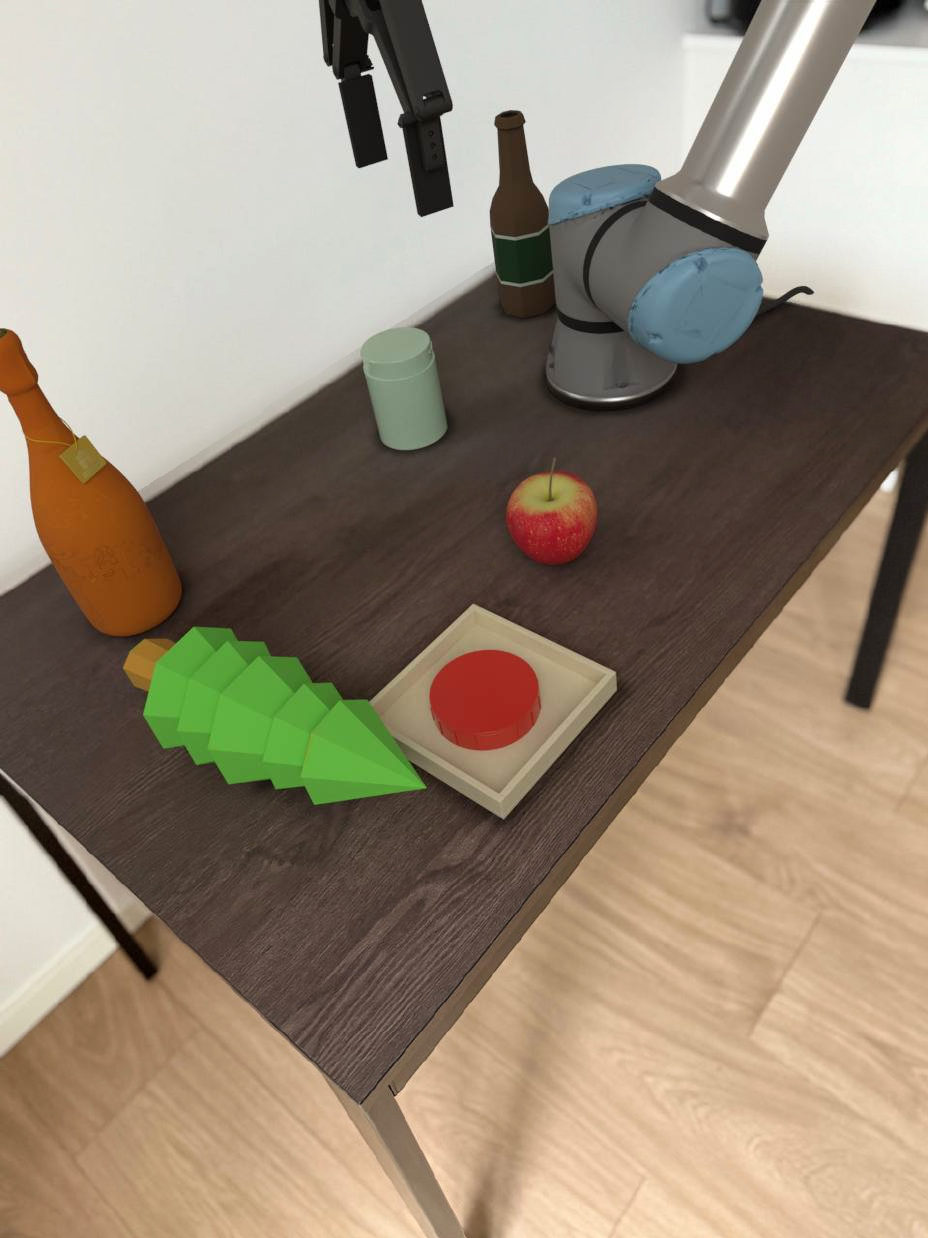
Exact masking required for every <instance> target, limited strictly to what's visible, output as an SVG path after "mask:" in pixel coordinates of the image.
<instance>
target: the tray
mask: <svg viewBox="0 0 928 1238" xmlns="http://www.w3.org/2000/svg"><path fill="white" fill-rule="evenodd" d="M479 650H500V651H505V652H509V653H512V654H514V655H516V656H518V657H520V658H522V659H523V660H525V661H526V662H527V663H528V664H529V665H530V666H531V667H532V669H533V670H534V672H535V674H536V676H537V679H538V683H539V690H540V700H541V709H540V714H539V717H538V719H537V721H536V723H535V725H534V726H533V727H532V729H531V730H530V731H529V732H528V733H527V734H526V735H525V736H523V737H522V738H521V739H520V740H518V741H516V742H514V743H512V744H510V745H508V746H505V747H503V748H499V749H494V750H485V751H477V750H470V749H466V748H462V747H459V746H457V745H455V744H453V743H452V742H450V741H449V740H447V739H446V738H445V737H444V736H443V735H441V733H440V731H439V730H438V728H437V726H436V724H435V721H434V720H433V717H432V713H431V709H430V707H431V705H430V699H429V694H430V688H431V684H432V682H433V680H434V678H435V677H436V675H437V674H438V672H439V671H440V670H441V669H442V668H443V667H444V666H445V665H446V664H448V663H449V662H450V661H452V660H454V659H455V658H457V657H459V656H461V655H464V654H467V653H470V652H474V651H479ZM617 681H618V680H617V672H616V671H615V670H613V669H610V668H609V667H607V666H604V665H602V664H600V663H598V662H596V661H594V660H592V659H590V658H588V657H585V656H584V655H581V654H579V653H577V652H575V651H573V650H571V649H569V648H567V647H565V646H563V645H561V644H558V643H557V642H555V641H552V640H550V639H549V638H546V637H544V636H542V635H540V634H538V633H536V632H533V631H531V630H529V629H527V628H525V627H523V626H521V625H519V624H517V623H515V622H513V621H510V620H508V619H506V618H504V617H502V616H500V615H498V614H496V613H494V612H492V611H490V610H487V609H486V608H484V607H481V606H479V605H477V604H475V603H472V604H471V605H470V606H469V607H468V608H467V609H466V610H465V611H464V612H463V613H462V614H461V615H460V616H458V618H456V619H455V620H453V622H452V623H451V624H450V625H449V626H448V627H447V628H446V629H445V630H443V631H442V633H440V635H438V636H437V637H436V638H435V639H434V640H433V641H432V642H431V643H430V644H429V645H427V647H426V648H425V649H424V650H423V651H421V652H420V653H419V654H418V655H417V656H416V657H415V658H414V659H413V660H412V661H411V662H409V663H408V664H407V665H406V666H405V668H404V669H402V670H401V671H400V672H399V673H398V674H396V676H395V677H394V678H393V679H392V680H391V681H390V682H388V683H387V684H386V685H385V686H384V687H383V688H382V689H381V690H380V691H379V692H378V693H376V695H375V696H374V697H373V698H371V699H370V700H369V703H370V704H371V706H372V707H373V709H374V710H375V712H376V713H377V715H378V716H379V718H380V719H381V721H382V722H383V724H384V725H385V727H386V728H387V730H388V731H389V733H390V734H391V736H392V737H393V739H394V740H395V742H396V743H397V744H398V746H399V747H400V749H401V750H402V752H403V753H404V755H405V756H406V758H407V759H408V761H409V762H410V763H411V764H414V765H415V766H417V767H419V768H420V769H422V770H423V771H425V772H427V773H428V774H430V775H431V776H433V777H435V778H436V779H437V780H440V781H441V782H443V783H444V784H446V785H448V786H449V787H451V788H452V789H454V790H456V791H457V792H458V793H460V794H462V795H464V796H465V797H467V798H469V800H472V801H473V802H475V803H476V804H478V805H480V806H481V807H483V808H484V809H486V810H487V811H489V812H491V813H492V814H494V815H496V816H497V817H499V818H501V819H502V820H505V819H506V818H507V816H508V815H510V814H511V812H512V811H513V810H514V809H515V807H516V806H517V805H518V804H519V803H520V802H521V800H522V799H524V797H525V796H526V795H527V794H528V793H529V791H530V790H531V789H532V788H533V787H534V786H535V785H536V783H537V782H538V781H539V780H540V779H541V778H542V776H543V775H545V773H546V772H547V771H548V770H549V769H550V768H551V766H552V765H553V764H554V763H555V762H556V761H557V760H558V759H559V757H560V756H561V755H562V754H563V752H565V750H566V749H567V748H568V747H569V746H570V745H571V744H572V742H573V741H574V740H575V739H576V738H577V737H578V736H579V734H580V733H581V732H582V731H583V730H584V729H585V728H586V726H587V725H588V724H589V723H590V722H591V721H592V719H593V718H594V717H595V716H596V715H597V714H598V713H599V711H600V710H601V709H602V708H603V707H604V706H605V704H607V703H608V701H609V700H610V699H611V698H612V697H613V696H614V695H615V693H616V692H617V690H618V685H617Z"/></svg>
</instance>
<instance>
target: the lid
mask: <svg viewBox="0 0 928 1238" xmlns="http://www.w3.org/2000/svg"><path fill="white" fill-rule="evenodd" d="M429 699H430V705H431V707H430V709H431V713H432V717H433V720H434V721H435V724H436V726H437V728H438V730H439V731H440V733H441V735H443V736H444V737H445V738H446V739H447V740H449V741H450V742H452V743H453V744H455V745H457V746H459V747H462V748H466V749H470V750H477V751H485V750H494V749H499V748H503V747H505V746H508V745H510V744H512V743H514V742H516V741H518V740H520V739H521V738H522V737H523V736H525V735H526V734H527V733H528V732H529V731H530V730H531V729H532V727H533V726H534V725H535V723H536V721H537V719H538V717H539V714H540V709H541V700H540V690H539V683H538V679H537V676H536V674H535V672H534V670H533V669H532V667H531V666H530V665H529V664H528V663H527V662H526V661H525V660H523V659H522V658H520V657H518V656H516V655H514V654H512V653H509V652H505V651H500V650H479V651H474V652H470V653H467V654H464V655H461V656H459V657H457V658H455V659H454V660H452V661H450V662H449V663H448V664H446V665H445V666H444V667H443V668H442V669H441V670H440V671H439V672H438V674H437V675H436V677H435V678H434V680H433V682H432V684H431V688H430V694H429Z"/></svg>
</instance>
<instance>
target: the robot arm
mask: <svg viewBox="0 0 928 1238" xmlns="http://www.w3.org/2000/svg"><path fill="white" fill-rule="evenodd" d="M876 2H877V0H760V2H759V5H758V7H757V8H756V11H755V13H754V15H753V17H752V19H751V21H750V23H749V26H748V28H747V30H746V31H745V34H744V36H743V38H742V40H741V42H740V45H739V47H738V49H737V50H736V53H735V55H734V57H733V59H732V61H731V63H730V66H729V67H728V70H727V72H726V74H725V75H724V78H723V80H722V82H721V84H720V86H719V88H718V90H717V93H716V95H715V97H714V99H713V101H712V103H711V105H710V107H709V109H708V111H707V113H706V115H705V118H704V120H703V121H702V124H701V126H700V128H699V130H698V132H697V134H696V136H695V139H694V140H693V143H692V145H691V147H690V149H689V151H688V153H687V156H686V157H685V160H684V161H683V163H682V166H681V168H680V169H679V171H677V172H676V173H675V174H673V175H669V176H668V177H666V178H663V179H662V175H661V173H660V171H659V170H658V169H657V168H655V167H653V166H651V165H646V164H641V163H640V164H639V163H622V164H614V165H606V166H600V167H596V168H592V169H589V170H584V171H582V172H579V173H576V174H573V175H571V176H569V177H567V178H565V179H563V180H562V181H560V182H559V183H557V184H556V185H555V186H554V187H553V189H552V190H551V192H550V194H549V197H548V209H549V219H548V225H549V229H550V240H551V251H552V262H553V274H554V285H555V296H556V303H555V305H556V318H557V319H556V324H555V328H554V332H553V335H552V337H551V340H550V343H549V346H548V350H547V353H546V355H547V359H546V364H545V375H546V376H545V377H546V384H547V387H548V389H549V391H550V393H551V394H552V395H553V396H554V397H556V398H557V399H558V400H559V401H561V402H562V403H565V404H567V405H570V406H573V407H576V408H580V409H586V410H592V411H617V410H623V409H630V408H634V407H637V406H641V405H643V404H644V405H645V404H646V403H649V402H651V401H653V400H655V399H657V398H658V397H660V396H662V395H663V394H664V393H666V392H667V391H668V390H669V389H671V387H672V386H673V385H674V383H675V381H676V379H677V377H678V365H679V364H680V365H688V364H689V365H690V364H695V363H700V362H703V361H706V360H707V359H708V358H710V357H711V356H713V355H719V354H720V353H722V352H724V351H725V350H727V349H728V348H730V347H731V346H732V345H734V343H735V342H737V341H738V340H739V339H740V338H741V337H742V336H743V335H744V333H745V332H746V331H747V330H748V328H749V327H750V325H751V324H752V322H753V321H754V319H755V318H758V317H759V316H761V315H763V314H766V313H767V312H769V311H771V310H774V309H775V308H778V307H779V306H781V305H783V304H784V303H786V302H788V301H789V300H790V299H792V298H793V297H795V296H796V295H798V294H805V295H807V296H811V295H813V294H815V291H814V290H813V289H812V288H811V287H809V286H806V285H799V286H796V287H793V288H791V289H790V290H788V291H787V292H786V293H784V294H783V295H781V296H779V297H778V298H776V299H775V300H773V301H770V302H769V303H766V304H764V305H762V306H761V304H762V301H763V296H764V288H763V287H762V284H763V283H764V278H763V273H762V271H761V269H760V267H759V264H758V263H757V261H758V259H759V257H760V255H761V253H762V252H763V249H764V248H765V246H766V244H767V242H768V240H769V238H770V234H769V229H768V225H767V222H766V217H765V214H766V210H767V207H768V205H769V203H770V202H771V200H772V198H773V195H774V194H775V192H776V190H777V188H778V186H779V185H780V184H781V181H782V179H783V177H784V175H785V173H786V171H787V169H788V168H789V166H790V164H791V162H792V160H793V158H794V157H795V154H796V153H797V152H798V151H797V150H798V148H799V147H800V145H801V144H802V141H803V139H804V138H805V135H806V134H807V132H808V130H809V128H810V126H811V124H812V123H813V121H814V118H815V117H816V115H817V114H818V111H819V110H820V107H821V106H822V103H823V102H824V100H825V98H826V97H827V94H828V93H829V91H830V88H831V87H832V85H833V83H834V81H835V79H836V77H837V76H838V73H839V72H840V70H841V68H842V66H843V64H844V62H845V60H846V59H847V57H848V54H849V53H850V51H851V49H852V47H853V45H854V44H855V42H856V40H857V38H858V36H859V34H860V32H861V30H862V28H863V26H864V25H865V23H866V21H867V19H868V17H869V16H870V13H871V11H872V10H873V8H874V6H875V4H876ZM318 9H319V10H318V11H319V21H320V32H321V33H320V34H321V43H322V54H323V56H322V58H323V62H324V63H325V65H326V66H327V68H328V67H331V69H332V74H333V76H334V78H335V79H336V80H337V81H339V82H337V85H338V90H339V94H340V99H341V104H342V107H343V112H344V118H345V122H346V126H347V131H348V132H347V133H348V136H349V139H350V140H349V141H350V145H351V149H352V154H353V158H354V164H355V167H356V168H358V169H363V168H366V167H369V166H371V165H375V164H378V163H381V162H384V161H388V160H389V157H388V151H387V147H386V142H385V136H384V131H383V126H382V125H383V124H382V121H381V114H380V110H379V106H378V100H377V95H376V89H375V83H374V78H373V75H372V74H370V73H367V74H363V73H366V72H369V71H373V70H375V66H373V65H374V64H373V62H372V60H371V58H370V56H369V54H368V50H369V48H368V47H369V39H370V38H369V37H370V35H371V36H372V37H373V39H374V42H375V45H376V46H377V49H378V52H379V54H380V56H381V60H382V61H383V64H384V66H385V69H386V71H387V74H388V76H389V80H390V82H391V84H392V86H393V89H394V92H395V95H396V97H397V99H398V102H399V104H400V106H401V109H402V112H403V113H400V114H399V117H398V120H397V122H396V124H397V126H398V127H399V128H400V129H402V134H403V135H402V136H403V140H404V145H405V152H406V157H407V164H408V169H409V175H410V179H411V185H412V191H413V197H414V201H415V202H414V203H415V208H416V213H417V215H418V216H419V217H420V218H423V217H426V216H429V215H433V214H436V213H439V212H442V211H444V210H447V209H450V208H454V207H455V205H454V200H453V199H454V198H453V193H452V191H453V190H452V186H451V178H450V172H449V166H448V159H447V153H446V145H445V139H444V134H443V133H444V132H443V126H442V120H441V117H442V116H443V115H445V114H447V113H451V112H452V111H453V108H454V104H453V99H452V97H451V93H450V89H449V87H448V82H447V79H446V76H445V73H444V69H443V66H442V63H441V60H440V57H439V53H438V50H437V45H436V43H435V39H434V36H433V32H432V30H431V29H432V28H431V26H430V24H429V20H428V16H427V13H426V10H425V7H424V3H423V0H318ZM362 74H363V75H362ZM424 97H425V98H424Z"/></svg>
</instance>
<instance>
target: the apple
mask: <svg viewBox="0 0 928 1238" xmlns="http://www.w3.org/2000/svg"><path fill="white" fill-rule="evenodd" d="M556 462H557V457H553V458H552V463H551V469H550V471H545V472H540V473H536V474H533V475H531V476H529V477H526V478H525V479H524V480H522V481H521V482H520V483H519V485H518V486H517V487H516V488H515V489H514V490H513V492H512V494H511V495H510V497H509V500H508V502H507V505H506V515H505V517H506V524H507V528H508V531H509V533H510V536H511V538H512V540H513V542H514V543H515V544H516V546H517V547H518V548H519V550H521V551H522V553H523V554H525V556H527V557H528V558H529V559H531V560H532V561H534V562H535V563H538V564H540V565H546V566H555V565H562V564H567V563H570V562H572V561H574V560H575V559H577V558H578V557H580V555H581V554H582V553H583V552H584V550H585V549H586V548H587V546H588V545H589V543H590V541H591V540H592V538H593V536H594V533H595V531H596V526H597V522H598V504H597V500H596V496H595V494H594V493H593V490H592V489H591V487H590V486H589V485H588V484H587V482H585V481H584V480H583V479H581V478H580V477H578V476H577V475H575V474H573V473H571V472H566V471H559V470H556V471H555V466H556Z"/></svg>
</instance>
